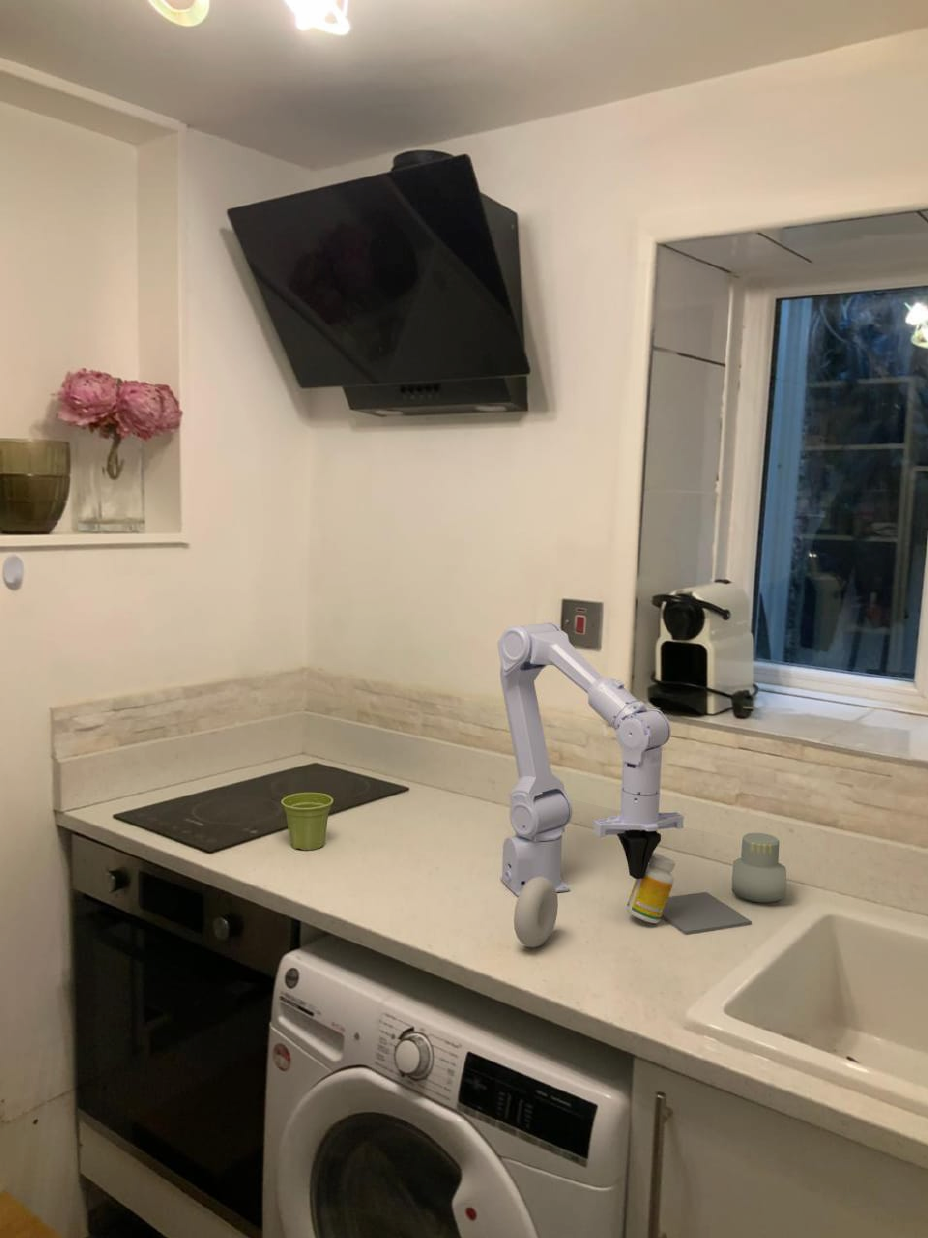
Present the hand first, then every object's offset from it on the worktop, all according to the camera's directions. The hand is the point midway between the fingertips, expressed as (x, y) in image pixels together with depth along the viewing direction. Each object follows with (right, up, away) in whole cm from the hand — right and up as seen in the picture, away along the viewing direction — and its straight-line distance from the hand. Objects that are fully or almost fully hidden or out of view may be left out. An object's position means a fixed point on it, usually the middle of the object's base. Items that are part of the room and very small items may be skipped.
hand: (636, 876), depth 148 cm
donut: (-16, -8, -7) cm, 19 cm away
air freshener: (+22, -7, +13) cm, 27 cm away
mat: (+10, -7, +5) cm, 14 cm away
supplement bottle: (+1, -7, +1) cm, 7 cm away
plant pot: (-55, -3, +31) cm, 63 cm away
